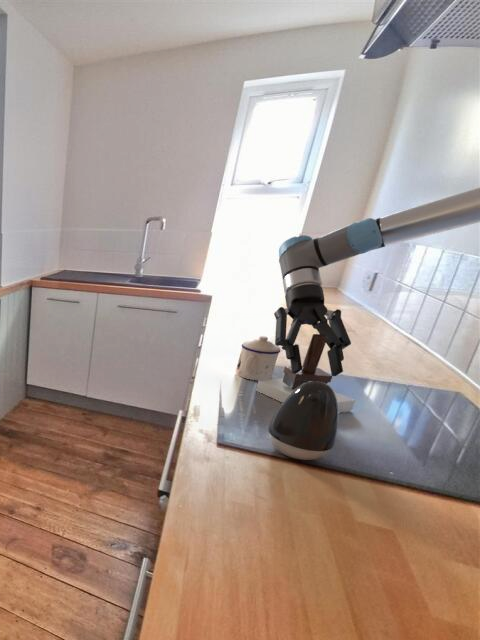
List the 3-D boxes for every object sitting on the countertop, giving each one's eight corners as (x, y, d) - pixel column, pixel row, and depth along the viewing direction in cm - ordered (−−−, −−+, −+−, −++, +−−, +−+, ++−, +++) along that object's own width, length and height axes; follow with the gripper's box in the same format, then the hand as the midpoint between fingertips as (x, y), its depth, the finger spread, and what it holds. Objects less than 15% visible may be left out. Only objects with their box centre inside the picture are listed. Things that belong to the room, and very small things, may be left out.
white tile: (351, 411, 98) (355, 400, 96) (310, 416, 95) (314, 405, 94) (292, 387, 111) (295, 376, 110) (255, 391, 109) (258, 380, 107)
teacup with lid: (241, 367, 124) (251, 330, 120) (276, 376, 118) (288, 337, 113) (224, 377, 117) (235, 338, 113) (261, 387, 111) (273, 346, 106)
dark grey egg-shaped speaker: (257, 453, 81) (280, 382, 75) (269, 434, 88) (290, 367, 82) (322, 474, 74) (353, 399, 68) (330, 452, 81) (358, 381, 75)
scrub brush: (314, 383, 104) (331, 333, 99) (326, 392, 99) (346, 339, 94) (280, 380, 106) (296, 331, 100) (291, 389, 101) (308, 338, 95)
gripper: (339, 301, 107) (356, 381, 99) (251, 298, 111) (260, 375, 103) (360, 283, 100) (380, 369, 92) (265, 281, 104) (276, 362, 96)
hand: (317, 372), depth 97 cm, fingers closed on scrub brush, 8 cm apart
